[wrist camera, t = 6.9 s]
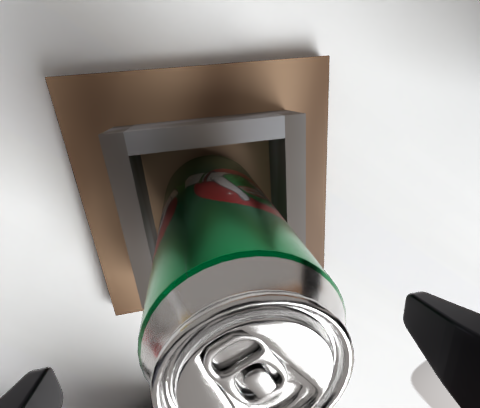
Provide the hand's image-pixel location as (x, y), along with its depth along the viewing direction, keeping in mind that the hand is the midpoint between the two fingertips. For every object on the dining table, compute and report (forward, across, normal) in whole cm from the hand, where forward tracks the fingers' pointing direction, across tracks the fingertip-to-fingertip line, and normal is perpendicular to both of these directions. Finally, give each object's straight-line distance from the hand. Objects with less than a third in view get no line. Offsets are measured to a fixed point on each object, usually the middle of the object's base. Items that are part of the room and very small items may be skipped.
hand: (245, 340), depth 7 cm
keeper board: (+12, 0, 0) cm, 12 cm away
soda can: (+11, 0, 0) cm, 11 cm away
